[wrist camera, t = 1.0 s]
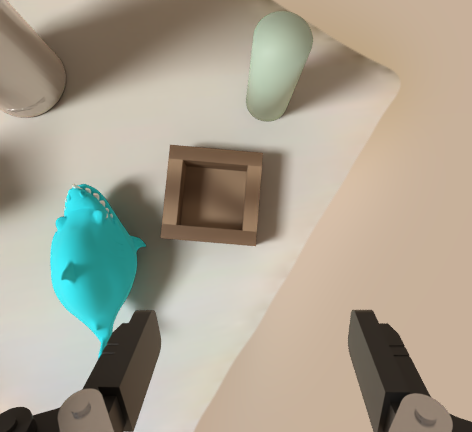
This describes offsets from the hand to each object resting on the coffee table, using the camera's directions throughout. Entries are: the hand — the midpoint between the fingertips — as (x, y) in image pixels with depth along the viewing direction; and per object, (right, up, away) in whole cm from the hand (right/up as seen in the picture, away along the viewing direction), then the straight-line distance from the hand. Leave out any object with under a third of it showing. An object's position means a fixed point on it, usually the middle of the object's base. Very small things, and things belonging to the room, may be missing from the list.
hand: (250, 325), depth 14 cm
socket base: (-3, +6, +25) cm, 26 cm away
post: (+3, +18, +26) cm, 32 cm away
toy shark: (-15, -1, +24) cm, 29 cm away
